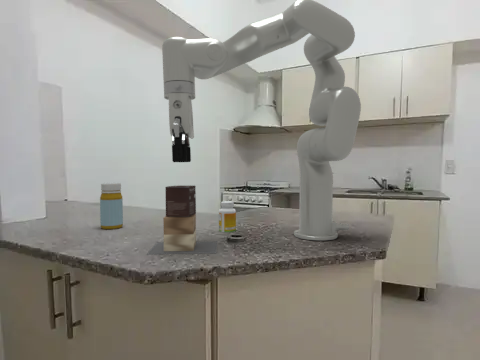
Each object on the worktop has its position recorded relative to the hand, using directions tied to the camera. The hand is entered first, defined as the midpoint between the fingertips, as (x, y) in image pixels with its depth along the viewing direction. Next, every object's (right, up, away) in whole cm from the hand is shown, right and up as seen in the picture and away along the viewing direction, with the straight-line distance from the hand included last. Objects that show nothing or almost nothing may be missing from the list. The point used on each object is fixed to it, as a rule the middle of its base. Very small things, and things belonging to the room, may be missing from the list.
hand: (182, 162), depth 79 cm
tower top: (-1, -17, 0) cm, 17 cm away
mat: (0, -22, +1) cm, 22 cm away
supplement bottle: (+10, -21, +21) cm, 32 cm away
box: (0, -14, +1) cm, 14 cm away
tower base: (-1, -21, +1) cm, 21 cm away
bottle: (-29, -21, +29) cm, 46 cm away
